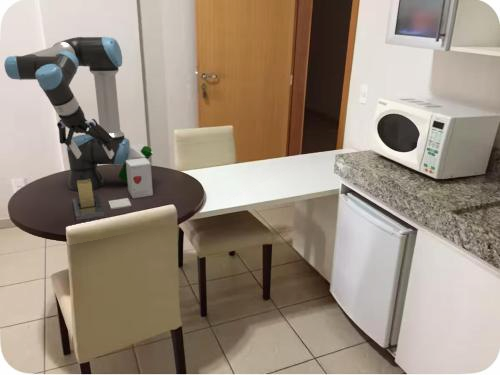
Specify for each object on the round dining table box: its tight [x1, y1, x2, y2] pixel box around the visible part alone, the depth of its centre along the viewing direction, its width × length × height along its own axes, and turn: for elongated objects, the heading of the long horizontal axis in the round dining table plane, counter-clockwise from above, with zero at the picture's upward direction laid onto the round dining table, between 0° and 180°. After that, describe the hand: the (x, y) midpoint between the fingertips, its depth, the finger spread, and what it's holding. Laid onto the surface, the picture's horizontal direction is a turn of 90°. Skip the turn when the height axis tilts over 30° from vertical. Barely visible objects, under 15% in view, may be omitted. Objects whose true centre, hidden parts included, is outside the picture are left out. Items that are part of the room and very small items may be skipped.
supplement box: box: [126, 158, 154, 199], centre depth 184 cm, size 9×9×15 cm
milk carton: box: [117, 142, 154, 185], centre depth 194 cm, size 9×9×20 cm
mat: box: [108, 197, 132, 210], centre depth 176 cm, size 8×8×1 cm
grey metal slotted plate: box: [72, 194, 105, 221], centre depth 171 cm, size 18×10×2 cm, turn 25°
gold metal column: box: [77, 179, 96, 209], centre depth 169 cm, size 5×5×12 cm
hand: (95, 156), depth 157 cm, fingers open, 13 cm apart
